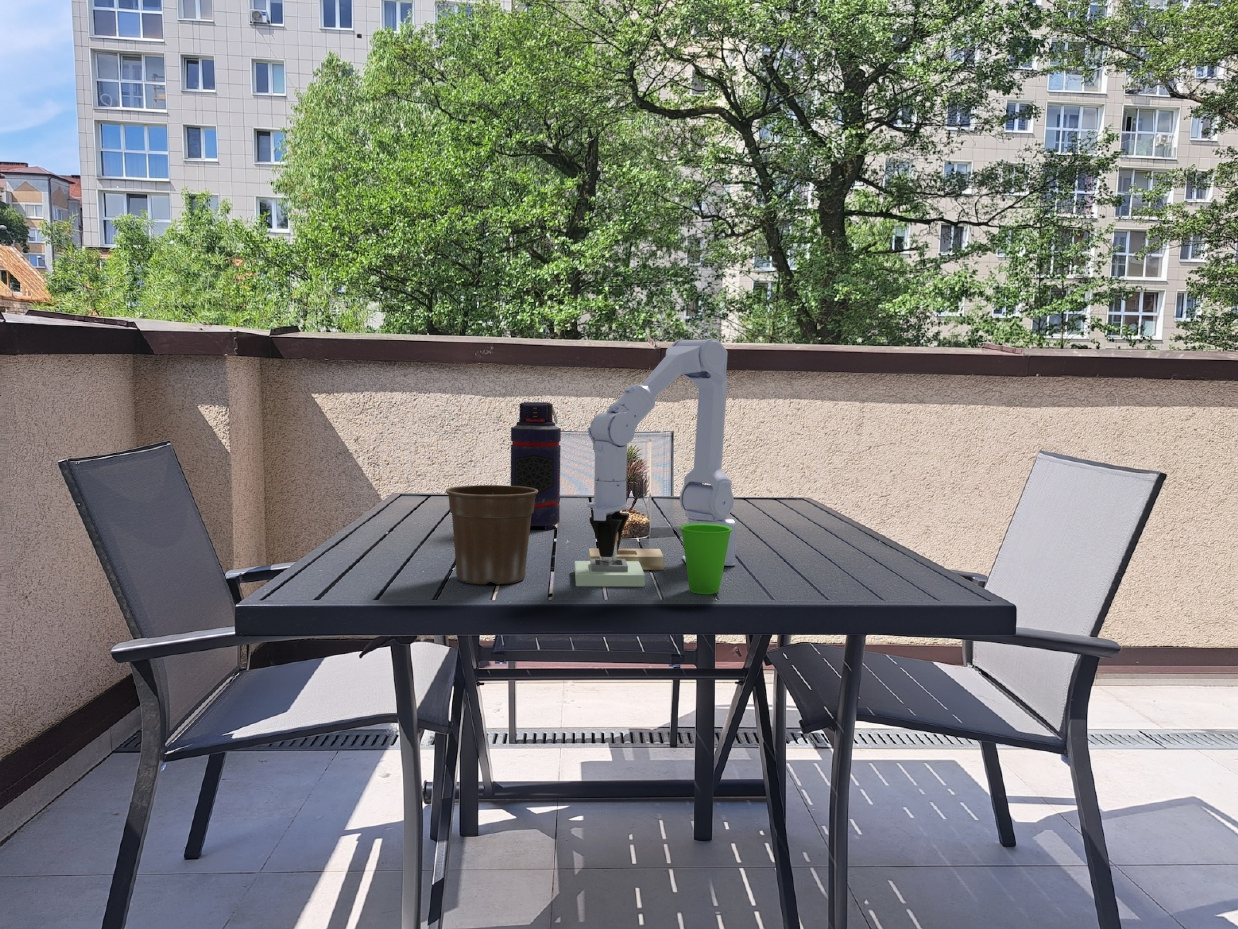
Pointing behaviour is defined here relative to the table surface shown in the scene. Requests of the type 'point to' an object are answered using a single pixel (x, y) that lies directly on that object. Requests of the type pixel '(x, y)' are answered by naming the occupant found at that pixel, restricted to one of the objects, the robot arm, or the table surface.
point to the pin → (612, 559)
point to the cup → (705, 555)
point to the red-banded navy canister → (538, 460)
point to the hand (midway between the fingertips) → (609, 554)
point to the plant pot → (491, 532)
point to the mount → (637, 557)
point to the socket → (609, 573)
